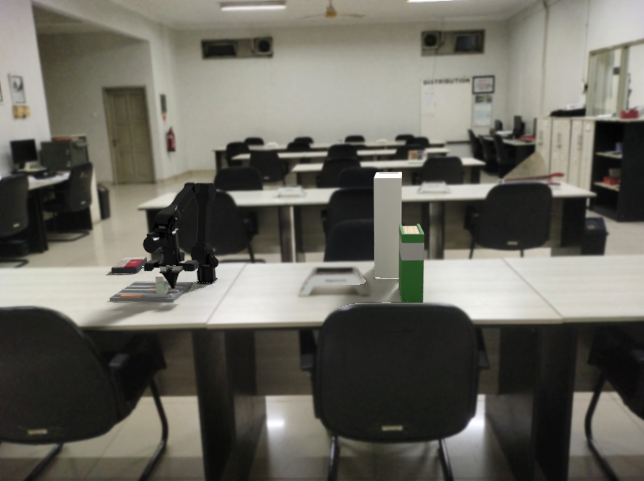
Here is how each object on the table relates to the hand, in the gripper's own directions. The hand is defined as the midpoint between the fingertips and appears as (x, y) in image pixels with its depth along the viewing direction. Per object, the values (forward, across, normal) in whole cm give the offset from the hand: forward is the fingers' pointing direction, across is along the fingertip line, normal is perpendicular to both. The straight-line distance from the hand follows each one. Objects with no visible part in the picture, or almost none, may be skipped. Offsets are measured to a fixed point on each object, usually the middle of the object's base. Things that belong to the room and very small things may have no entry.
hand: (173, 288), depth 193 cm
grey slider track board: (+4, +10, -5) cm, 12 cm away
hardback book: (+4, -86, -7) cm, 86 cm away
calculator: (+4, +35, -37) cm, 51 cm away
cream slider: (+2, +8, -9) cm, 13 cm away
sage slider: (+2, +4, 0) cm, 5 cm away
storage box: (+4, -78, -35) cm, 86 cm away
